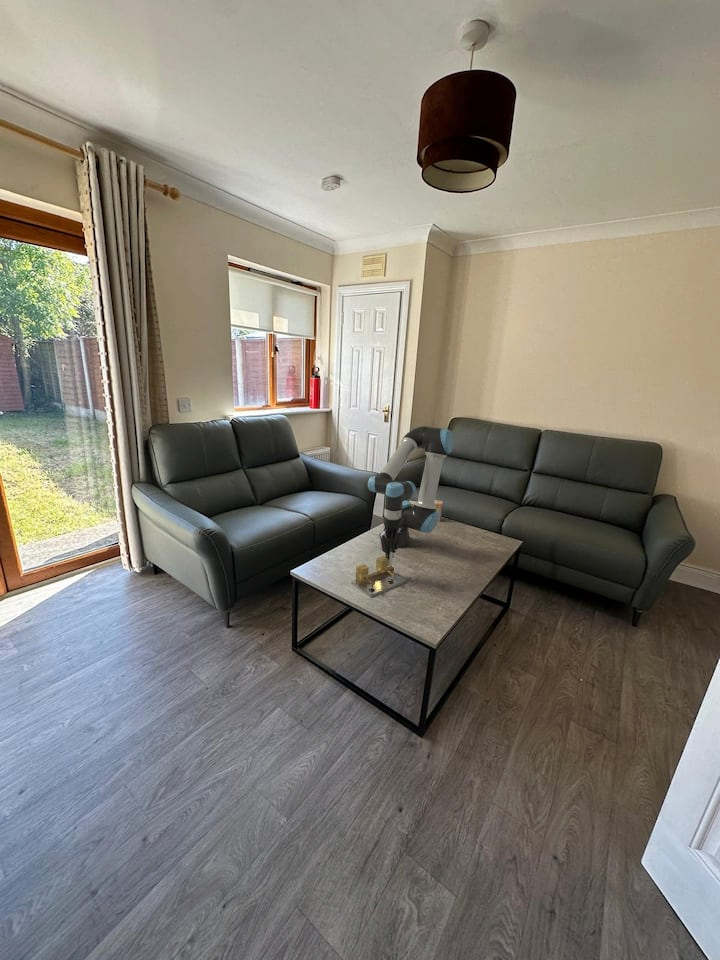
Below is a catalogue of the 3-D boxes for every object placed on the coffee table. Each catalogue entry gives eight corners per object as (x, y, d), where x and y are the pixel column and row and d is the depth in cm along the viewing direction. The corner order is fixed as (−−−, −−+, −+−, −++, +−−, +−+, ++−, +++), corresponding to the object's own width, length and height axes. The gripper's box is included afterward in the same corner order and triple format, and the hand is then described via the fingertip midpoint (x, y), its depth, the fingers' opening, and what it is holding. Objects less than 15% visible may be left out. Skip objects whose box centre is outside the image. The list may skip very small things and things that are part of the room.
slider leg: (375, 573, 177) (376, 558, 175) (382, 570, 180) (383, 555, 178) (390, 583, 170) (391, 567, 168) (396, 580, 173) (398, 564, 170)
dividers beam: (354, 582, 170) (355, 566, 168) (389, 569, 183) (390, 553, 181) (368, 593, 163) (369, 576, 161) (404, 578, 176) (405, 562, 173)
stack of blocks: (406, 517, 249) (408, 499, 246) (408, 513, 255) (409, 496, 252) (440, 522, 244) (442, 503, 240) (441, 518, 249) (443, 500, 246)
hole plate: (351, 583, 171) (351, 581, 171) (386, 569, 184) (386, 567, 184) (370, 597, 162) (370, 595, 162) (405, 582, 175) (405, 580, 174)
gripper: (387, 523, 165) (383, 572, 172) (408, 517, 173) (404, 564, 180) (375, 517, 171) (372, 565, 178) (397, 511, 179) (393, 557, 186)
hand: (388, 564), depth 179 cm, fingers closed
